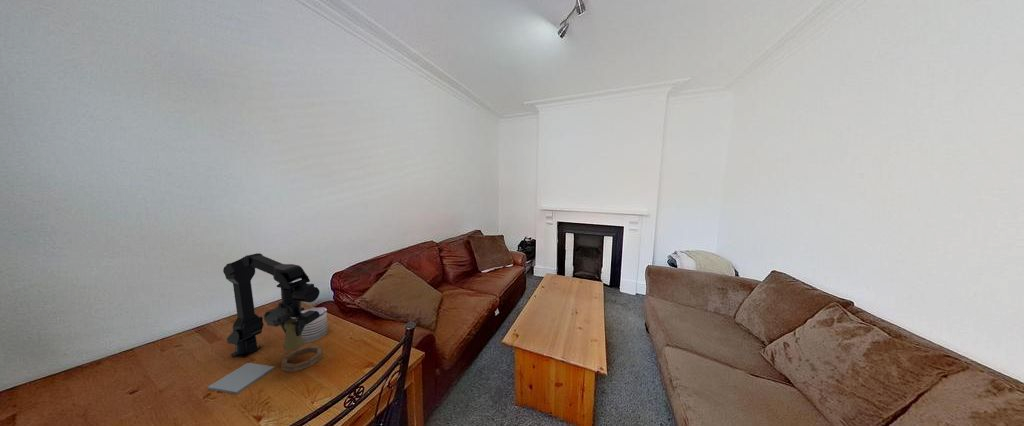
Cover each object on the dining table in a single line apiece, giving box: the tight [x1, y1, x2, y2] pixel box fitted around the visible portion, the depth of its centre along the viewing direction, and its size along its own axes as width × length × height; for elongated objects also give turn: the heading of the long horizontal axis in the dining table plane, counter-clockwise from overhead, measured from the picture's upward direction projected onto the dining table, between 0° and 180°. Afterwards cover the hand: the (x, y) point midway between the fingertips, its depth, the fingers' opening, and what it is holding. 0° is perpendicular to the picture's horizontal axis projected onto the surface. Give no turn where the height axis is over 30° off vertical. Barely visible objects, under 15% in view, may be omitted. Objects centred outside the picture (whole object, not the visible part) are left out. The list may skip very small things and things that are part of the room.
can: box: [301, 306, 328, 344], centre depth 117 cm, size 11×11×12 cm
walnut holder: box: [280, 344, 323, 373], centre depth 101 cm, size 12×12×2 cm
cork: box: [283, 318, 305, 352], centre depth 99 cm, size 6×6×11 cm
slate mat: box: [206, 362, 275, 395], centre depth 91 cm, size 12×12×1 cm
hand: (293, 335), depth 99 cm, fingers closed on cork, 4 cm apart
